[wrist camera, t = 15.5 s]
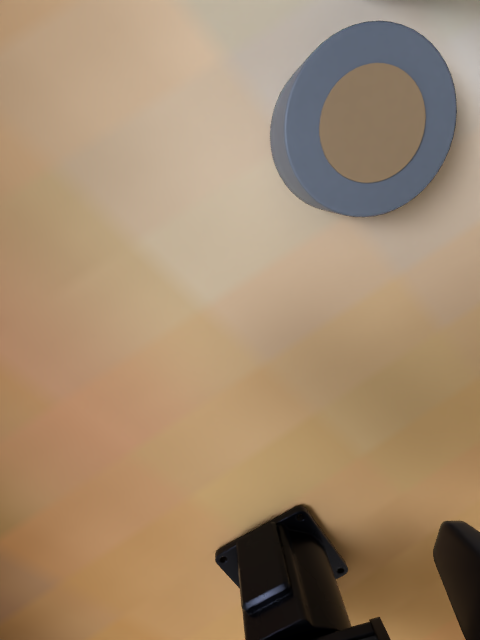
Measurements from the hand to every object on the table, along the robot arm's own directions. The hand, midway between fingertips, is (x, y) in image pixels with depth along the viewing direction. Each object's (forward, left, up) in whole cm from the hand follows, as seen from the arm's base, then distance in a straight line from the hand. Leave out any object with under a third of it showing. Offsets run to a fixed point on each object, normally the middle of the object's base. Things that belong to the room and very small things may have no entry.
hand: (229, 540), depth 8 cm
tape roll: (+4, -10, -13) cm, 17 cm away
